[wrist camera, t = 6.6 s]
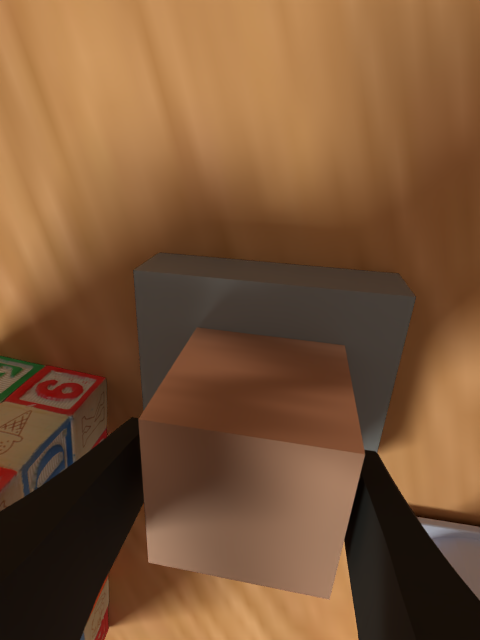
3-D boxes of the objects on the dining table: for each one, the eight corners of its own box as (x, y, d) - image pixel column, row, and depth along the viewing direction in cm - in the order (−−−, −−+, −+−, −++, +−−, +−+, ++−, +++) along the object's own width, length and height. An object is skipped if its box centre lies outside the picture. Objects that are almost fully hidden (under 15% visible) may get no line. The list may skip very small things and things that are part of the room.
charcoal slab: (395, 269, 14) (415, 296, 12) (354, 454, 18) (363, 507, 15) (164, 249, 15) (133, 270, 13) (170, 426, 19) (147, 472, 16)
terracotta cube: (344, 345, 13) (364, 454, 8) (322, 460, 15) (329, 599, 10) (196, 327, 13) (138, 419, 9) (195, 440, 15) (148, 562, 11)
